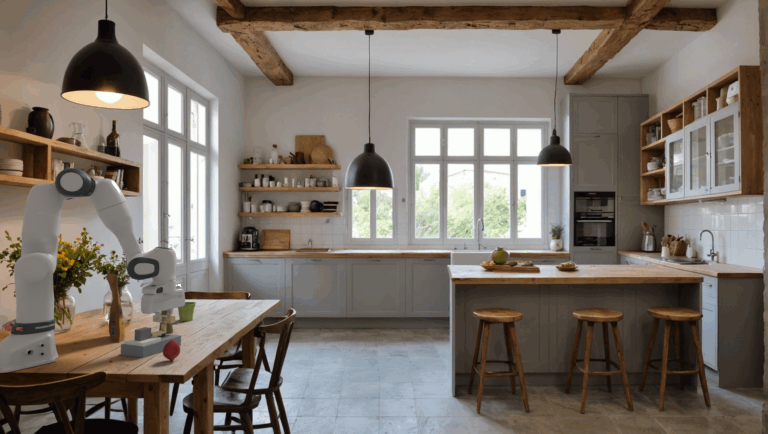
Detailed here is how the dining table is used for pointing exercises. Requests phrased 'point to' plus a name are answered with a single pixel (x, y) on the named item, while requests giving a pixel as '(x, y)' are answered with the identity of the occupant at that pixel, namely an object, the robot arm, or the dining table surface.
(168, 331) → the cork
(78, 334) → the dining table surface
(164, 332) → the t key
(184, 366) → the dining table surface
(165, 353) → the onion
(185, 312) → the plant pot
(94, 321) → the dining table surface
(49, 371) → the dining table surface
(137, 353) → the case
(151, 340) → the cover
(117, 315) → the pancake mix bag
